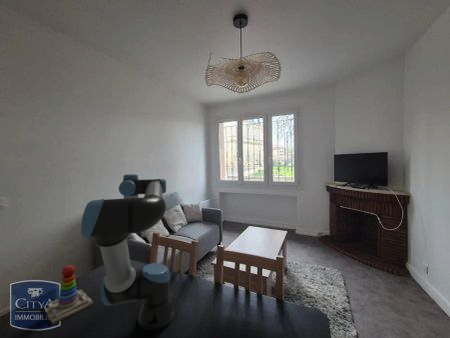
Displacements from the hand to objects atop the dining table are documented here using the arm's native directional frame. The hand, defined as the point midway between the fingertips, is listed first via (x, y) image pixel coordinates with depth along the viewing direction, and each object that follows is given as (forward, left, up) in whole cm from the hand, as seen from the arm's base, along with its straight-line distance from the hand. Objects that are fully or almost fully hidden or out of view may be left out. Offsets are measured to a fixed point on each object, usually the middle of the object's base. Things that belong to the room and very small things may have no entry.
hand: (131, 240), depth 115 cm
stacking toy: (+10, +27, -26) cm, 39 cm away
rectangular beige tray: (+10, +27, -27) cm, 39 cm away
